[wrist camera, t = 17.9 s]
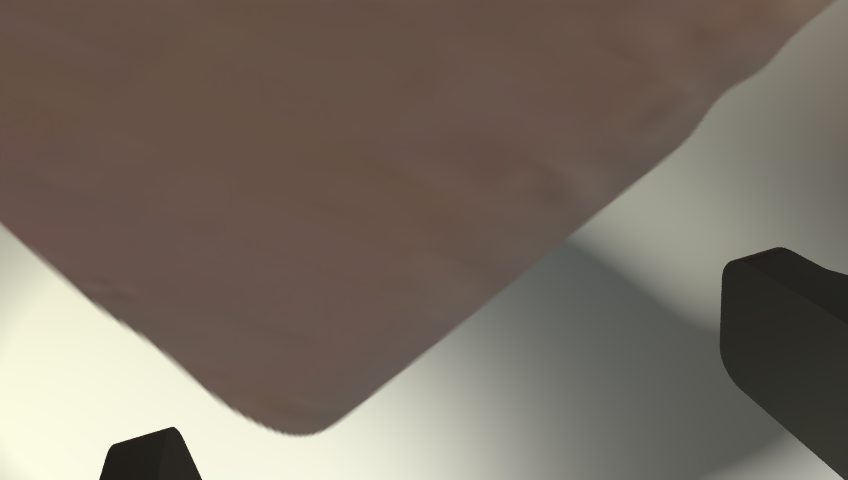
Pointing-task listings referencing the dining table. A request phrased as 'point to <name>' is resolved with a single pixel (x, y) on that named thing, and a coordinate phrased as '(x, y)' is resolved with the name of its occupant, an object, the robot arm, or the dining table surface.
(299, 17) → the dining table surface
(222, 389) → the dining table surface
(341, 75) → the dining table surface
